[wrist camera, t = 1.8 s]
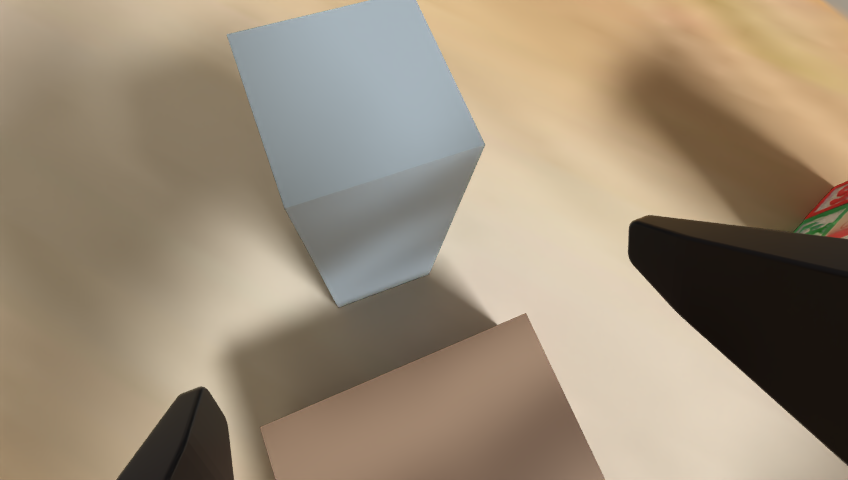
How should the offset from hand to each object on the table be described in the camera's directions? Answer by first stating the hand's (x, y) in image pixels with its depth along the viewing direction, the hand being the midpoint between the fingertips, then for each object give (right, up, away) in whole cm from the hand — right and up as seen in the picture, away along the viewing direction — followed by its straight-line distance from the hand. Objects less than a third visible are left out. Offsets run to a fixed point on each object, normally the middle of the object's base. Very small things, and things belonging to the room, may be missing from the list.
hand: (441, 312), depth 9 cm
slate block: (-3, +1, +12) cm, 13 cm away
